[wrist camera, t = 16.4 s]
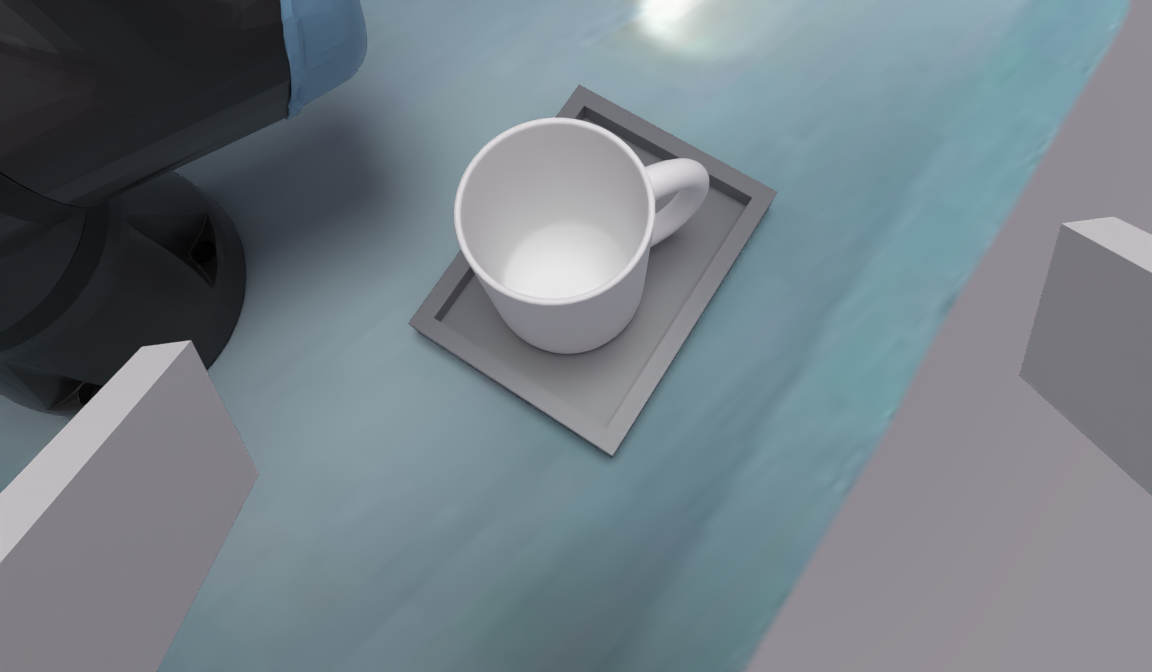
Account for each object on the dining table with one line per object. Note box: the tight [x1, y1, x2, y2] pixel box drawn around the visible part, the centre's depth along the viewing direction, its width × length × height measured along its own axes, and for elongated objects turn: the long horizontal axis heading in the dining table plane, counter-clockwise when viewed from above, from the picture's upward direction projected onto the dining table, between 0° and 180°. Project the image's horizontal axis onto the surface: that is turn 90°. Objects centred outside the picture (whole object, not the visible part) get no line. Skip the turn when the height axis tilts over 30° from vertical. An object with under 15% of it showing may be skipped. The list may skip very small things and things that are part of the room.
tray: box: [408, 85, 777, 458], centre depth 37 cm, size 13×17×2 cm
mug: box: [454, 118, 709, 354], centre depth 32 cm, size 12×8×10 cm
